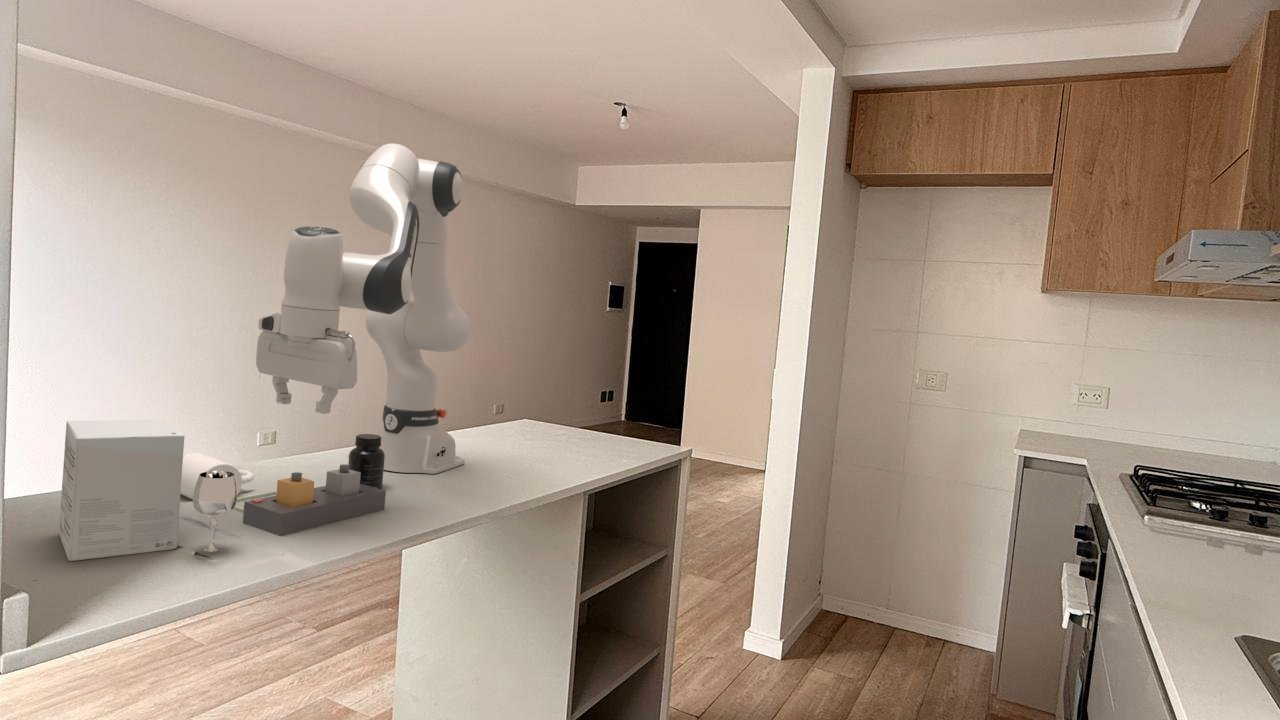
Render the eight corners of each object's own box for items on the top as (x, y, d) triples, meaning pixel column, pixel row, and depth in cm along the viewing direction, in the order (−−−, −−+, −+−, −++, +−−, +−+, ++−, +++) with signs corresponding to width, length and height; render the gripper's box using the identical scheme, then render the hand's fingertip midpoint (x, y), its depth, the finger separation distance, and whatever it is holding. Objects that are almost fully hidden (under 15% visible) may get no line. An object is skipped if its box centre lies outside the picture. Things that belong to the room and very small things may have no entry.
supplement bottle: (339, 492, 153) (344, 433, 152) (371, 488, 158) (376, 431, 157) (355, 500, 148) (360, 440, 147) (387, 497, 153) (393, 438, 152)
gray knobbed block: (341, 505, 139) (345, 461, 138) (357, 510, 137) (361, 466, 136) (323, 509, 135) (327, 464, 135) (339, 514, 133) (343, 469, 133)
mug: (195, 511, 131) (198, 466, 131) (167, 498, 137) (170, 454, 136) (262, 501, 141) (265, 459, 141) (233, 488, 147) (236, 448, 146)
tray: (274, 501, 142) (275, 490, 142) (308, 512, 138) (309, 501, 138) (217, 512, 132) (218, 501, 132) (253, 524, 128) (254, 513, 128)
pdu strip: (348, 506, 144) (350, 479, 143) (383, 517, 140) (386, 489, 139) (242, 531, 124) (244, 500, 124) (279, 544, 120) (282, 512, 120)
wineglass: (204, 544, 116) (209, 468, 116) (240, 549, 116) (246, 472, 115) (180, 557, 111) (185, 476, 110) (218, 562, 110) (224, 481, 110)
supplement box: (159, 524, 123) (167, 418, 122) (178, 549, 113) (186, 434, 112) (57, 534, 114) (64, 419, 113) (67, 562, 104) (75, 437, 103)
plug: (294, 516, 130) (298, 469, 129) (311, 521, 128) (315, 474, 127) (274, 521, 126) (278, 472, 126) (290, 526, 124) (294, 477, 124)
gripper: (370, 333, 123) (363, 417, 124) (284, 319, 132) (278, 397, 133) (339, 332, 117) (331, 420, 118) (251, 318, 126) (245, 399, 127)
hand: (302, 408), depth 126 cm, fingers open, 8 cm apart
